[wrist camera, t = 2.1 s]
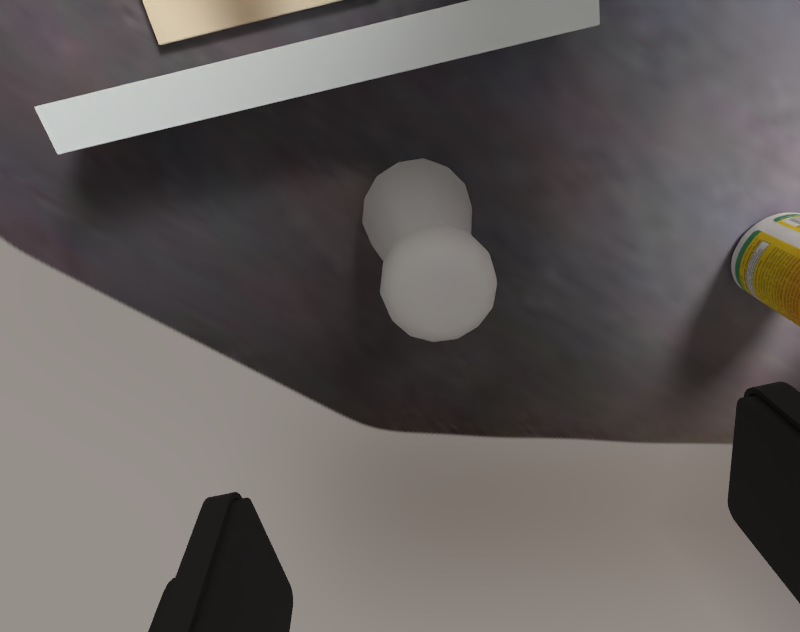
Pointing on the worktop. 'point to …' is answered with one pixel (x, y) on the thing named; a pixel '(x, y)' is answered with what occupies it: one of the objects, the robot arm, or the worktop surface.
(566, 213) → the worktop surface
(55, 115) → the acrylic wall
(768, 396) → the robot arm
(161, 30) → the coaster board
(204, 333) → the worktop surface
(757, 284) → the supplement bottle
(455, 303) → the salt shaker
